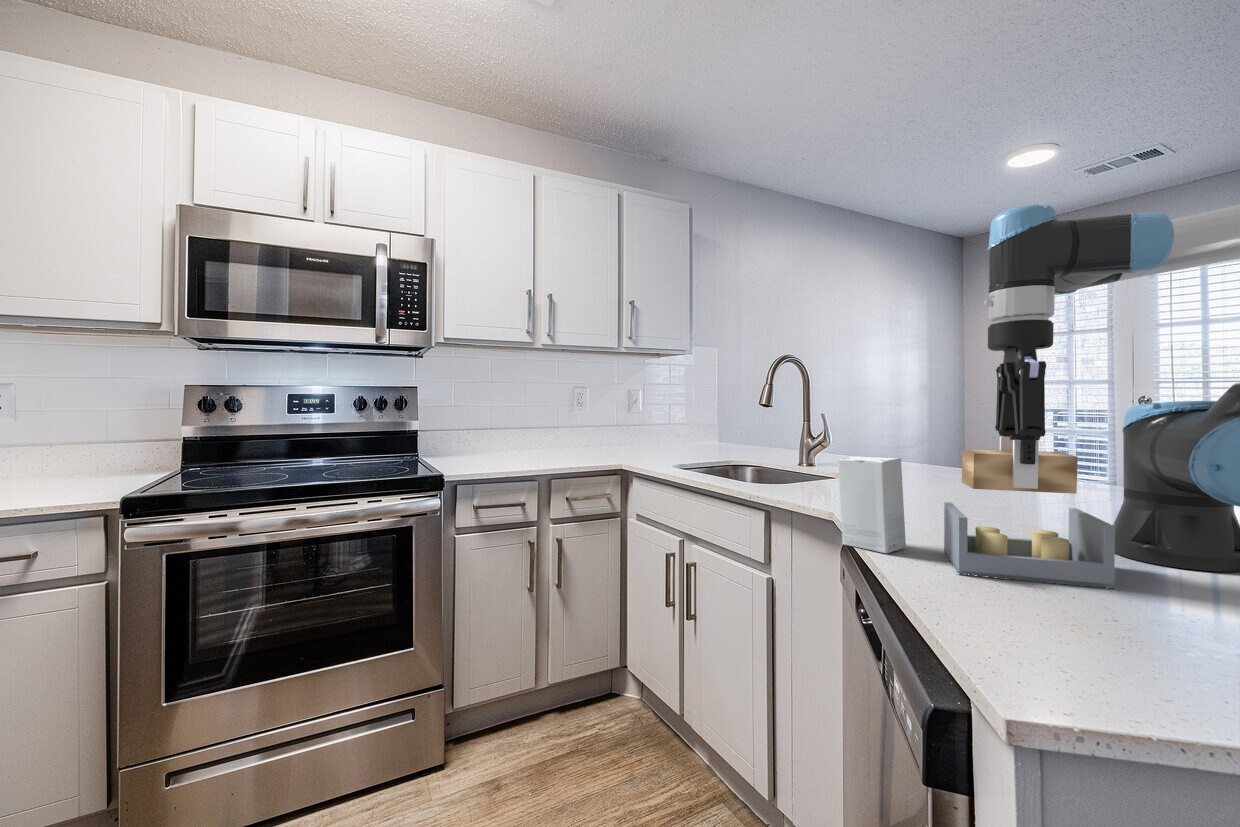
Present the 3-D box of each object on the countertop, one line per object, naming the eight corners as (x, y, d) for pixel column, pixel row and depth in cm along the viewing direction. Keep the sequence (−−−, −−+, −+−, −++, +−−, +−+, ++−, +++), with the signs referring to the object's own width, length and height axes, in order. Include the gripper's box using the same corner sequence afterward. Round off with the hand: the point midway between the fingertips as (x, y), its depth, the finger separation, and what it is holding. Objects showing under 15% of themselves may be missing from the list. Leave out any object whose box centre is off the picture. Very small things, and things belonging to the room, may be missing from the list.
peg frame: (1077, 562, 81) (1077, 508, 80) (1114, 589, 70) (1114, 526, 69) (944, 552, 87) (944, 502, 87) (959, 574, 76) (959, 517, 76)
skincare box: (906, 549, 89) (906, 458, 89) (885, 555, 86) (884, 460, 86) (859, 538, 96) (858, 454, 96) (838, 544, 93) (837, 456, 93)
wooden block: (1057, 486, 79) (1058, 452, 79) (1076, 493, 73) (1077, 456, 73) (961, 482, 83) (962, 449, 83) (973, 488, 77) (973, 453, 77)
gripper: (973, 330, 88) (972, 474, 88) (1006, 313, 70) (1004, 493, 71) (1030, 327, 85) (1028, 476, 86) (1080, 309, 67) (1076, 497, 68)
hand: (1017, 483), depth 78 cm, fingers closed on wooden block, 6 cm apart
